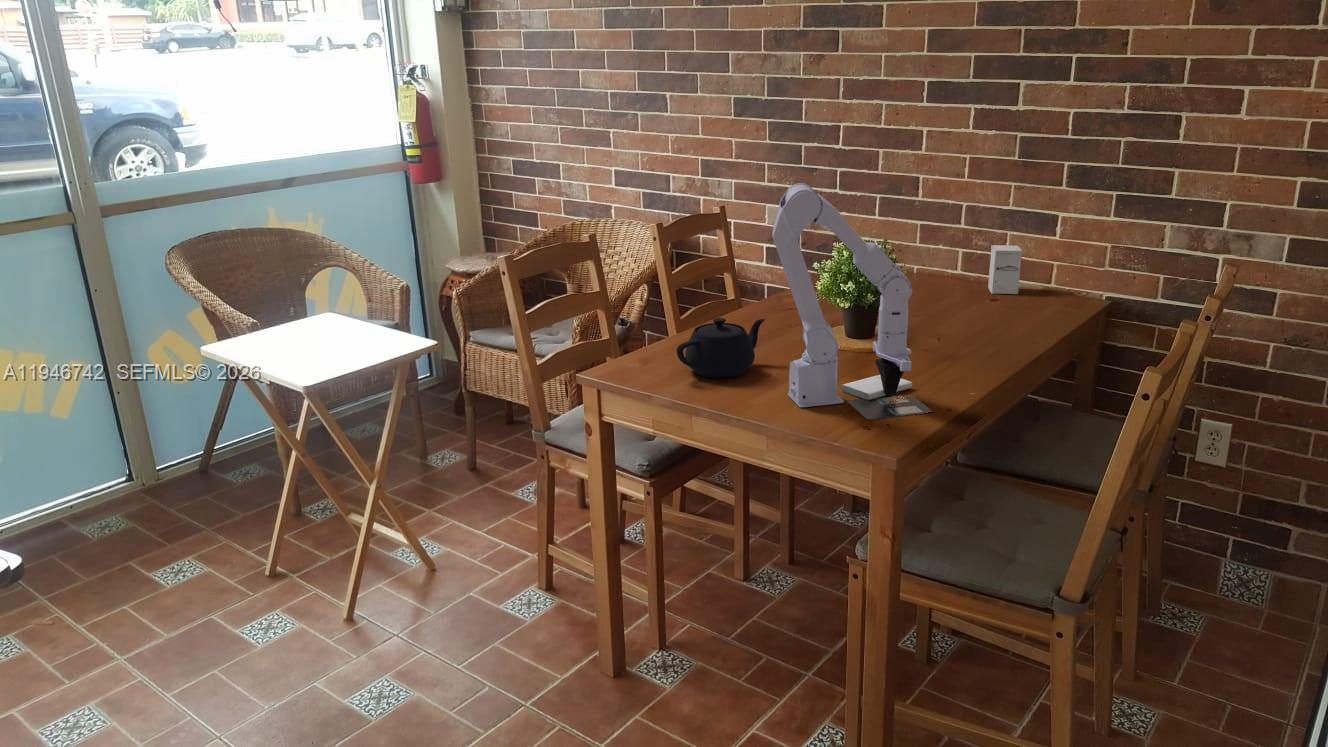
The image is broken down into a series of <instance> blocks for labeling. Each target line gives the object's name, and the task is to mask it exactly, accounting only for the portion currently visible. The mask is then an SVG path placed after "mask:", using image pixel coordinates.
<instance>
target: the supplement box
mask: <svg viewBox="0 0 1328 747" xmlns="http://www.w3.org/2000/svg"><path fill="white" fill-rule="evenodd" d="M990 248H991V249H990V261H989V262H990V263H989V272H988V282H987V283H988V285H987V287H988V290H989V292H990V293H991V294H992V295H993V294H994V295H995V294H999V295H1000V294H1001V295H1002V294H1003V295H1006V294H1007V295H1019V289H1020V287H1019V286H1020V278H1021V277H1020V276H1021V274H1020V273H1021V266H1022V254H1023V250H1022V249H1021V248H1020V246H1019V245H1004V244H1003V245H1001V244H1000V245H999V244H995V245H994V244H993V245H991V247H990Z"/></svg>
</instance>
